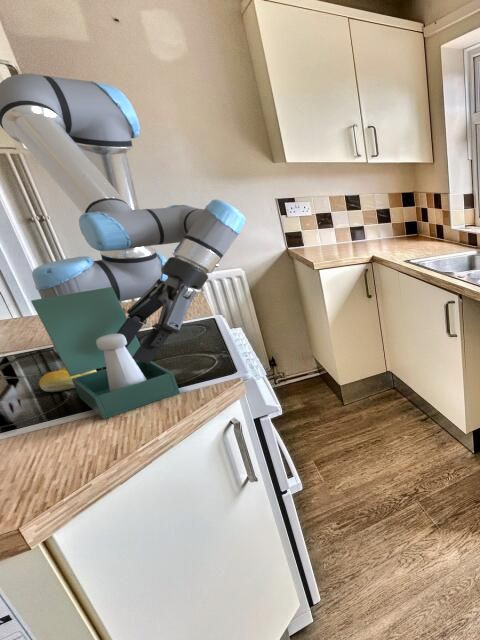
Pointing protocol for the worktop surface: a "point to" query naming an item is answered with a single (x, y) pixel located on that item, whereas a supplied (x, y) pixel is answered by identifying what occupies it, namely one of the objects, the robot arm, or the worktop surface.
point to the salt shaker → (119, 362)
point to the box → (125, 390)
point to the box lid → (82, 326)
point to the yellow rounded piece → (59, 380)
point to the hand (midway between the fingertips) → (127, 354)
